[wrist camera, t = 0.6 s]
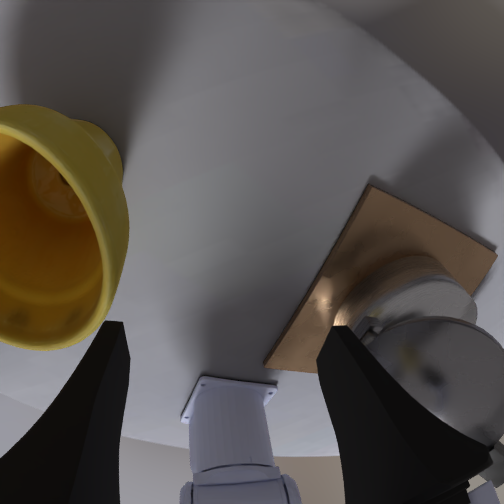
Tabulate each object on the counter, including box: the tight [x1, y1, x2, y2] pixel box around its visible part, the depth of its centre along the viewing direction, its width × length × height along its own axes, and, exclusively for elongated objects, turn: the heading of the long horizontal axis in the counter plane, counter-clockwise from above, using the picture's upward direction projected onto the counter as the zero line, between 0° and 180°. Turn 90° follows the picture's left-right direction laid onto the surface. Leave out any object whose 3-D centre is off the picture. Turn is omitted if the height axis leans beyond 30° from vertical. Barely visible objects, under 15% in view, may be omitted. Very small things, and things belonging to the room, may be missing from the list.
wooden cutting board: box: [263, 184, 498, 373], centre depth 25 cm, size 18×20×5 cm
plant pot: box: [0, 104, 129, 351], centre depth 13 cm, size 10×10×10 cm
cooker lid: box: [360, 316, 504, 488], centre depth 16 cm, size 17×13×1 cm
